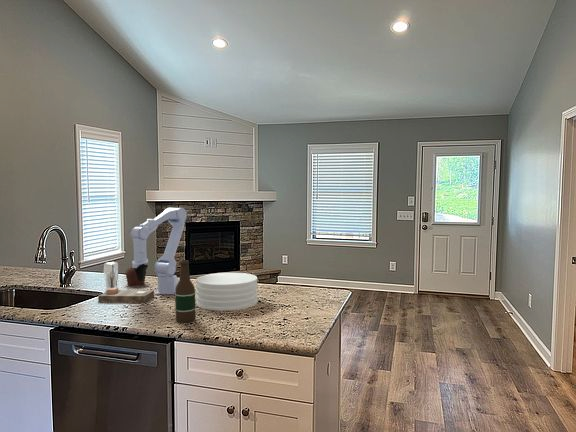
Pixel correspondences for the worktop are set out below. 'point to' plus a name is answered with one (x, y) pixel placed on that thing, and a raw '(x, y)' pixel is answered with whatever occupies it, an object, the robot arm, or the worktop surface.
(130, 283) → the muffin
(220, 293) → the plate stack
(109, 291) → the terracotta key
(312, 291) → the worktop surface
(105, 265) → the beer glass
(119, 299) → the wooden board
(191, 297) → the beer bottle
